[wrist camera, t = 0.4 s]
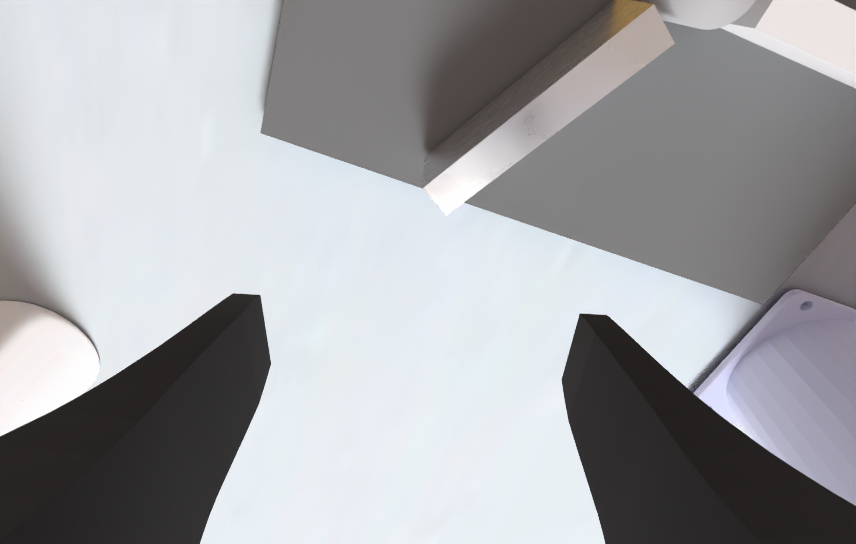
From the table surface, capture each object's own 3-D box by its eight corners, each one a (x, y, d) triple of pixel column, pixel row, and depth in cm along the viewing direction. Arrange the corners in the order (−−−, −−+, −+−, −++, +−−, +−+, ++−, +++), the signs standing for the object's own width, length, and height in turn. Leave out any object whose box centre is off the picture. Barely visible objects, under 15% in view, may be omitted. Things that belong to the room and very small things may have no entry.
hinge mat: (1135, -141, 14) (1364, -178, 10) (753, 294, 22) (812, 354, 18) (396, -601, 10) (376, -892, 7) (267, 126, 18) (228, 163, 15)
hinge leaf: (616, -3, 15) (653, 4, 12) (635, 31, 15) (675, 43, 13) (424, 157, 18) (421, 188, 15) (445, 180, 18) (446, 215, 16)
